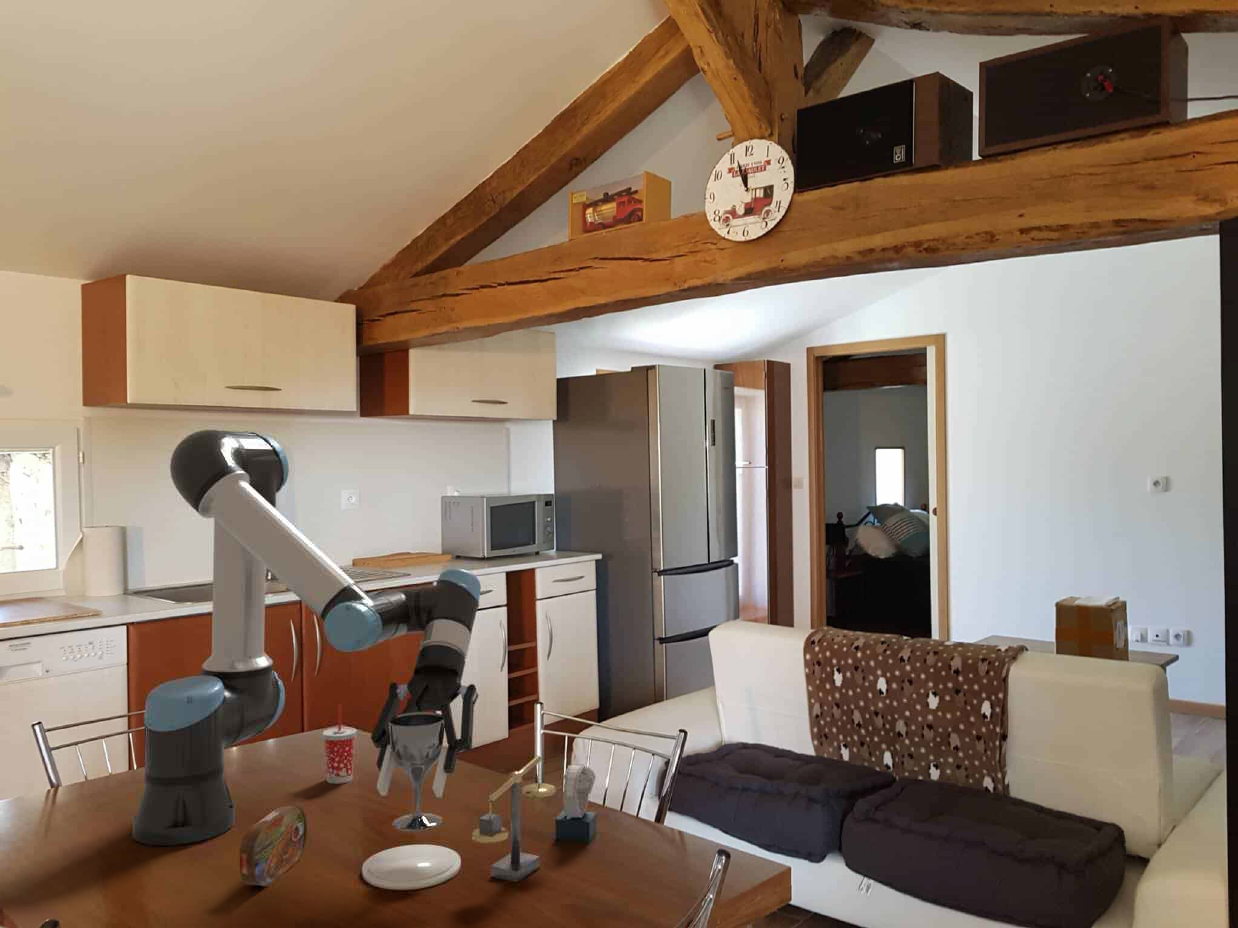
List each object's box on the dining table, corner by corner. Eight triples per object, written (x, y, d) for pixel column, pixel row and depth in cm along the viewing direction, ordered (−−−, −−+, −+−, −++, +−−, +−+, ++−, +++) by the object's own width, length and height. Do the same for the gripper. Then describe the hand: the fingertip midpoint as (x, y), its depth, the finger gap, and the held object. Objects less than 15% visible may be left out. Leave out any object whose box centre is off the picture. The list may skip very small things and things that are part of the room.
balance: (495, 899, 130) (495, 787, 130) (465, 892, 133) (464, 782, 133) (561, 852, 146) (561, 752, 146) (533, 846, 149) (533, 748, 149)
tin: (255, 896, 131) (255, 834, 132) (234, 895, 132) (234, 833, 132) (308, 853, 146) (308, 797, 146) (289, 851, 147) (289, 796, 147)
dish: (341, 877, 137) (341, 869, 137) (405, 843, 150) (405, 836, 150) (419, 897, 131) (419, 889, 131) (479, 859, 144) (479, 852, 144)
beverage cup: (351, 784, 178) (351, 708, 178) (318, 784, 178) (318, 708, 178) (360, 774, 184) (360, 700, 184) (328, 774, 184) (328, 700, 184)
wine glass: (432, 834, 136) (431, 727, 136) (379, 830, 137) (379, 724, 137) (453, 814, 143) (452, 713, 144) (403, 810, 145) (402, 710, 145)
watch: (599, 827, 157) (599, 759, 157) (586, 846, 149) (586, 774, 149) (566, 824, 158) (565, 757, 158) (551, 843, 150) (551, 772, 150)
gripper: (509, 669, 154) (484, 806, 138) (386, 667, 157) (347, 801, 141) (501, 642, 149) (473, 781, 133) (374, 641, 152) (332, 776, 135)
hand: (409, 791), depth 137 cm, fingers closed on wine glass, 7 cm apart
